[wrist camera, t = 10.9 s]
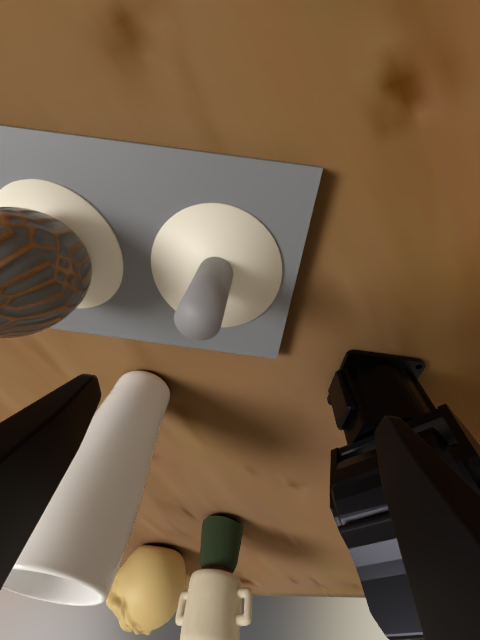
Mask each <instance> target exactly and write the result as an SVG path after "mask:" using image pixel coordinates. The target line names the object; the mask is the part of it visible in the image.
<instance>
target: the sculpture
mask: <svg viewBox="0 0 480 640" xmlns="http://www.w3.org/2000/svg"><path fill="white" fill-rule="evenodd" d="M185 584H186V568H185V563H184V560H183V557H182V556H181V554H180V553H179V552H177V551H175V550H172V549H169V548H164V547H158V546H150V545H142V546H140V547H138V548H137V549H136V550H135V551H134V552H133V553H132V554H131V555H130V557H129V558H128V559H127V561H126V562H125V563H124V565H123V566H122V567H121V568H120V569H119V570H118V571H117V574H116V577H115V579H114V582H113V584H112V587H111V589H110V592H109V595H108V597H107V599H106V604H107V606H108V608H109V609H110V610H112V611H113V612H114V614H115V616H116V617H117V618H118V619H119V624H120V626H121V628H122V629H123V631H128V632H132V631H134V632H135V634H137V635H138V634H146V635H150V632H151V631H152V630H154V629H156V628H159V627H161V626H162V625H164V624H165V623H166V622H167V621H169V620H170V619H171V617H172V616H173V615H174V614H175V612H176V610H177V608H178V603H179V598H180V595H181V592H183V591H184V590H185Z"/></svg>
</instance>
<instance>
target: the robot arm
mask: <svg viewBox="0 0 480 640" xmlns="http://www.w3.org/2000/svg"><path fill="white" fill-rule="evenodd" d="M353 355H354V356H353ZM351 356H353V357H351ZM417 365H418V366H417ZM424 368H425V363H424V362H423V361H422V360H421V359H415V358H408V357H401V356H393V355H386V354H379V353H371V352H364V351H357V350H350V351H348V352H347V353H346V355H345V357H344V359H343V362H342V364H341V366H340V369H339V370H338V371H337V372H336V373H335V376H334V378H333V380H332V383H331V385H330V388H329V390H328V392H329V395H328V397H327V401H328V404H330V405H332V408H333V412H334V416H335V420H336V424H337V427H338V428H339V430H344V433H345V437H346V441H347V445H346V446H344V447H341V448H335V449H333V450H331V467H330V508H331V511H332V513H333V516H334V519H335V522H336V524H337V527H338V529H339V532H340V534H341V536H342V538H343V539H344V541H345V543H346V545H347V547H348V549H349V551H350V554H351V556H352V559H353V561H354V563H355V566H356V568H357V571H358V574H359V577H360V580H361V584H362V587H363V590H364V593H365V597H366V600H367V603H368V607H369V610H370V612H371V614H372V616H373V618H374V619H375V621H376V622H377V623H378V625H379V627H380V628H381V629H382V631H383V632H384V634H385V635H386V637H387V638H388V639H389V640H480V446H479V444H478V443H477V441H476V440H475V439H474V437H473V436H472V435H471V434H470V432H469V431H468V430H467V429H466V428H465V426H464V425H463V424H462V423H461V421H460V420H459V419H458V418H457V417H456V415H455V414H454V413H453V412H452V411H451V409H450V408H449V407H448V406H447V404H444V405H441V406H439V407H438V409H436V408H435V407H434V405H433V404H432V402H431V400H430V399H429V397H428V396H427V394H426V392H425V391H424V389H423V388H422V386H421V384H420V383H419V381H418V380H417V379H418V377H419V376H420V374H421V373H422V371H423V370H424ZM100 399H101V390H100V386H99V382H98V378H97V377H96V376H95V375H90V374H81V375H79V376H77V377H76V378H74V379H72V380H71V381H69V382H67V383H66V384H64V385H62V386H61V387H59V388H57V389H56V390H54V391H52V392H51V393H49V394H47V395H46V396H44V397H42V398H41V399H39V400H37V401H36V402H34V403H32V404H31V405H29V406H27V407H26V408H24V409H22V410H21V411H19V412H17V413H16V414H14V415H12V416H11V417H9V418H7V419H6V420H4V421H2V422H1V423H0V590H1V588H2V586H3V585H4V583H5V581H6V579H7V577H8V576H9V574H10V572H11V570H12V568H13V567H14V565H15V563H16V561H17V559H18V558H19V556H20V554H21V552H22V550H23V549H24V547H25V545H26V543H27V542H28V540H29V538H30V536H31V534H32V533H33V531H34V529H35V527H36V525H37V524H38V522H39V520H40V518H41V516H42V515H43V513H44V511H45V509H46V507H47V506H48V504H49V502H50V500H51V498H52V497H53V495H54V493H55V491H56V489H57V488H58V486H59V484H60V482H61V480H62V479H63V477H64V475H65V473H66V471H67V470H68V468H69V466H70V464H71V462H72V461H73V459H74V457H75V455H76V453H77V452H78V450H79V448H80V446H81V443H82V441H83V439H84V437H85V434H86V432H87V430H88V427H89V425H90V423H91V420H92V418H93V416H94V413H95V411H96V409H97V406H98V404H99V402H100Z"/></svg>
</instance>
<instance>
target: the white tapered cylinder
mask: <svg viewBox="0 0 480 640" xmlns="http://www.w3.org/2000/svg"><path fill="white" fill-rule="evenodd" d="M169 400H170V390H169V388H168V386H167V384H166V383H165V382H164V381H163V380H162V379H161V378H160V377H158V376H157V375H155V374H153V373H150V372H147V371H139V370H138V371H130V372H128V373H125V374H124V375H122V376H121V377H120V378H119V379H118V381H117V382H116V384H115V386H114V387H113V389H112V390H111V392H110V393H109V395H108V396H107V398H106V399H105V400H104V402H103V403H102V404H101V406H100V407H99V408H98V410H97V411H96V412H95V414H94V416H93V418H92V420H91V423H90V425H89V427H88V430H87V432H86V434H85V437H84V439H83V441H82V443H81V446H80V448H79V450H78V452H77V453H76V455H75V457H74V459H73V461H72V462H71V464H70V466H69V468H68V470H67V471H66V473H65V475H64V477H63V479H62V480H61V482H60V484H59V486H58V488H57V489H56V491H55V493H54V495H53V497H52V498H51V500H50V502H49V504H48V506H47V507H46V509H45V511H44V513H43V515H42V516H41V518H40V520H39V522H38V524H37V525H36V527H35V529H34V531H33V533H32V534H31V536H30V538H29V540H28V542H27V543H26V545H25V547H24V549H23V550H22V552H21V554H20V556H19V558H18V559H17V561H16V563H15V565H14V567H13V568H12V570H11V572H10V574H9V576H8V577H7V579H6V581H5V583H4V585H3V586H2V588H4V589H7V590H9V591H12V592H14V593H17V594H20V595H24V596H27V597H30V598H34V599H38V600H42V601H47V602H52V603H58V604H65V605H75V606H91V605H98V604H101V603H103V602H104V601H105V600H106V599H107V597H108V595H109V592H110V589H111V587H112V584H113V582H114V579H115V577H116V574H117V571H118V569H119V566H120V563H121V561H122V558H123V555H124V553H125V550H126V547H127V544H128V541H129V538H130V535H131V532H132V529H133V526H134V523H135V520H136V517H137V513H138V510H139V506H140V503H141V499H142V495H143V492H144V488H145V484H146V480H147V476H148V473H149V469H150V465H151V461H152V458H153V454H154V450H155V446H156V443H157V439H158V435H159V432H160V428H161V425H162V421H163V417H164V414H165V411H166V408H167V406H168V403H169Z"/></svg>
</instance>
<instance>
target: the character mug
mask: <svg viewBox="0 0 480 640" xmlns="http://www.w3.org/2000/svg"><path fill="white" fill-rule="evenodd" d="M242 531H243V526H242V525H241V524H239V523H238V522H236V521H235V520H232V519H230V518H227V517H223V516H217V515H216V516H209V517H207V518H206V519H205V520H203V524H202V534H201V550H200V563H201V567H202V569H201V570H197V571H195V572H193V573H192V575H191V578H190V583H189V589H188V590H185V591H183V592H181V595H180V598H179V603H178V608H177V613H176V624H177V625H178V626H182V629H181V635H180V640H239V637H240V626H247V625H249V624H250V623H251V619H252V590H251V589H250V588H248V587H245V588H242V585H241V581H240V579H239V578H238V577H237V576H235V575H234V574H232V573H233V572H234V570H235V568H236V565H237V561H238V556H239V550H240V545H241V538H242ZM242 598H245V605H244V614H241V610H242ZM185 605H186V606H185ZM184 611H185V612H184Z"/></svg>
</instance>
